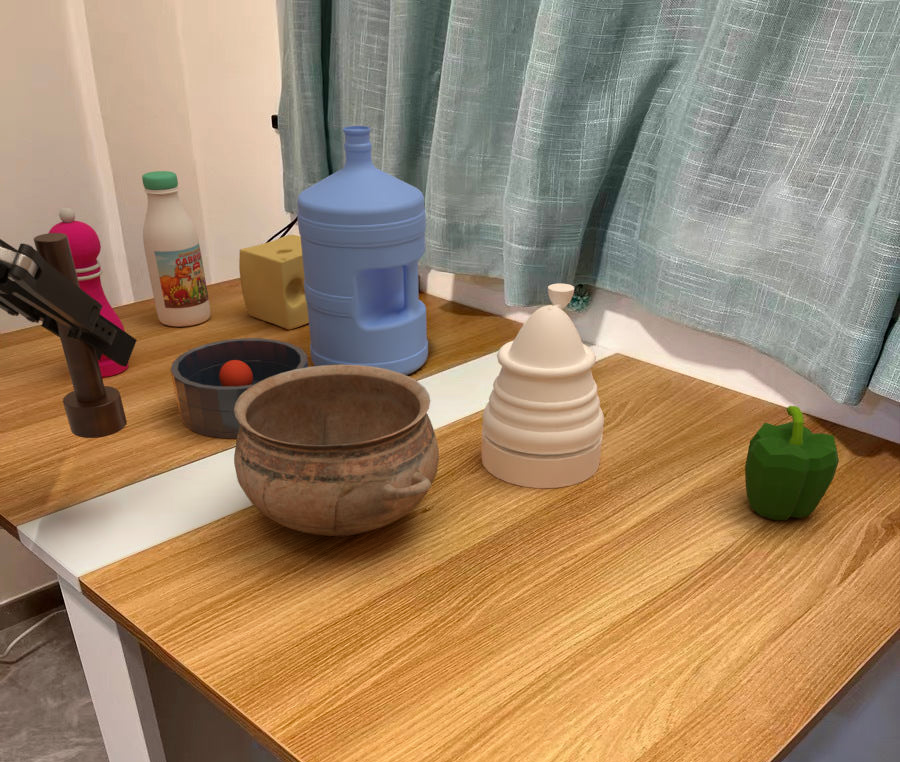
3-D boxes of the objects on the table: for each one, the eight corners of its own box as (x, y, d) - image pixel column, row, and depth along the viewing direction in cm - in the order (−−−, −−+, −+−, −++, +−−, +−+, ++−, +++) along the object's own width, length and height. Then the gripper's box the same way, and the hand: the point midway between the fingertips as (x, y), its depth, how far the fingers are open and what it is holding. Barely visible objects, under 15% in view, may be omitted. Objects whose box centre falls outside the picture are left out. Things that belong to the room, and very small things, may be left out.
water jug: (289, 373, 116) (262, 134, 99) (346, 334, 127) (330, 114, 111) (397, 392, 111) (387, 144, 94) (446, 349, 123) (445, 122, 106)
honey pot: (521, 423, 104) (528, 265, 93) (620, 452, 98) (640, 287, 87) (458, 465, 95) (458, 298, 85) (562, 500, 89) (577, 324, 79)
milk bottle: (149, 326, 130) (119, 178, 118) (171, 309, 136) (144, 167, 124) (199, 329, 129) (173, 180, 117) (219, 311, 135) (196, 168, 123)
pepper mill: (63, 374, 116) (19, 211, 104) (100, 355, 121) (62, 198, 109) (108, 382, 114) (68, 217, 102) (144, 362, 119) (109, 203, 107)
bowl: (174, 443, 100) (164, 393, 96) (186, 387, 112) (177, 341, 109) (314, 434, 102) (309, 384, 98) (310, 380, 114) (305, 334, 111)
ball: (221, 400, 107) (215, 368, 105) (222, 387, 110) (217, 356, 108) (254, 398, 108) (250, 366, 105) (255, 385, 111) (250, 354, 109)
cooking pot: (194, 502, 89) (171, 387, 82) (346, 445, 99) (338, 339, 92) (338, 615, 74) (326, 487, 67) (501, 535, 84) (505, 416, 77)
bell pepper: (821, 538, 84) (849, 441, 78) (732, 522, 86) (753, 427, 80) (824, 496, 90) (850, 404, 84) (740, 482, 92) (760, 392, 86)
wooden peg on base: (66, 440, 81) (11, 246, 71) (76, 416, 85) (25, 230, 75) (123, 436, 81) (76, 244, 71) (130, 413, 85) (87, 227, 75)
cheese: (342, 314, 134) (337, 245, 128) (286, 333, 128) (278, 261, 122) (299, 299, 140) (292, 232, 134) (243, 316, 134) (233, 247, 128)
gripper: (-210, 229, 63) (40, 370, 85) (-65, 260, 57) (164, 403, 79) (-170, 134, 64) (69, 299, 85) (-21, 155, 58) (194, 326, 80)
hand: (114, 349), depth 82 cm, fingers closed on wooden peg on base, 3 cm apart
